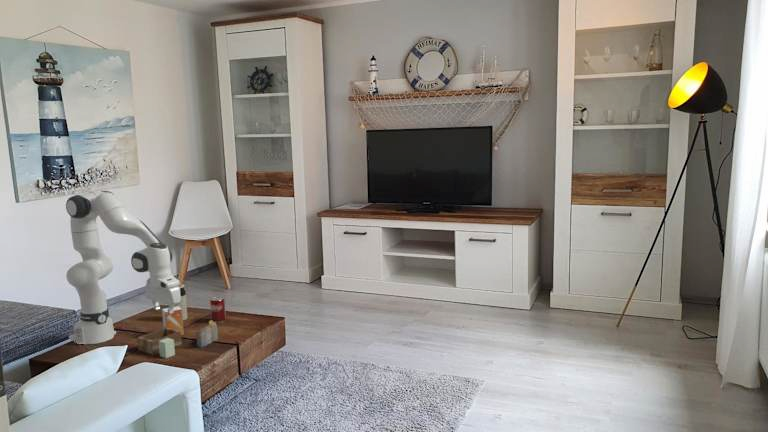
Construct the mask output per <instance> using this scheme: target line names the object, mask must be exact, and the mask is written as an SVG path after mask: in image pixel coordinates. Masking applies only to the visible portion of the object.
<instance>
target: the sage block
mask: <svg viewBox="0 0 768 432" xmlns="http://www.w3.org/2000/svg"><path fill="white" fill-rule="evenodd" d="M159 351H160V353H159V356H160V357H161V358H165V359H168V358H170V357H173V356H176V350H175V347H174V340H173V339H170V338H166V339H163V340H160V341H159Z"/></svg>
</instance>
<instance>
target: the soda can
mask: <svg viewBox="0 0 768 432" xmlns="http://www.w3.org/2000/svg"><path fill="white" fill-rule="evenodd" d="M209 304H210V305H209V306H210V307H209V308H210V321H211V320H212V321H214V322H215V323H216V324H220V323H224V322H225V321H226V319H227V315H226V314H227V313H226V300H225V297H224V296H215V297H211V298H210V299H209Z"/></svg>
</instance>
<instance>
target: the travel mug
mask: <svg viewBox="0 0 768 432" xmlns="http://www.w3.org/2000/svg"><path fill="white" fill-rule="evenodd" d="M178 287H179V288H180V295H181V301H180V303H179V304H175V306H174V307H176V306H179V307H180V308H181V309H182V317H183V322H184V321H186V320H187V319H188V309H187V308H188V305H187V294H186V292H187V291H186V290H185V284H183V283H180V285H178Z"/></svg>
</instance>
